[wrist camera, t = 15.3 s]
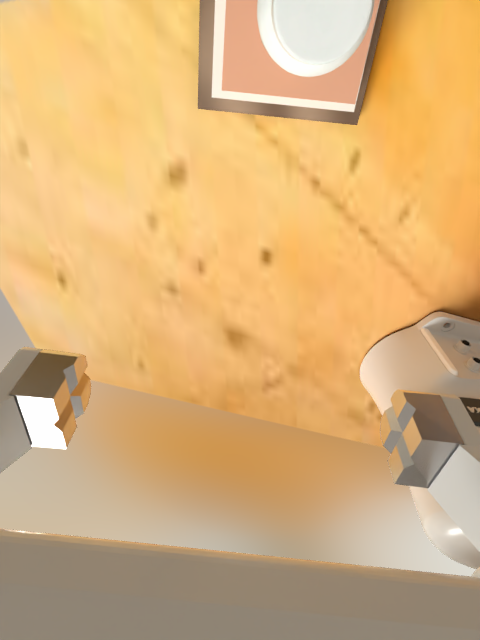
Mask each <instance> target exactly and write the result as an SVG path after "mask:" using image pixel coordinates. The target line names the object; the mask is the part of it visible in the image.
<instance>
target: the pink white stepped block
mask: <svg viewBox="0 0 480 640" xmlns="http://www.w3.org/2000/svg"><path fill="white" fill-rule="evenodd" d="M257 2H258V0H215V17H214V45H213V72H212V97H213V98H222V99H232V100H241V101H251V102H261V103H270V104H280V105H290V106H299V107H309V108H318V109H328V110H338V111H347V112H354V109H355V105H356V101H357V97H358V93H359V88H360V84H361V80H362V76H363V72H364V67H365V63H366V59H367V55H368V50H369V46H370V42H371V38H372V34H373V29H374V25H375V21H376V17H377V13H378V8H379V4H380V0H375V1H374V9H373V14H372V18H371V21H370V24H369V27H368V30H367V32H366V34H365V36H364V38H363V40H362V42H361V44H360V45H359V47H358V48H357V49H356V51H355V52H354V53H353V55H352V56H351V57H350V58H349V59H348V60H347V61H346V62H345V63H343V64H342V65H341V66H339V67H338V68H336V69H335V70H333V71H331V72H329V73H326V74H323V75H320V76H314V77H303V76H298V75H294V74H291V73H289V72H287V71H286V70H284V69H283V68H281V67H280V66H279V65H278V64H277V63H276V62H275V61H274V60H273V59H272V58H271V56H270V55H269V54H268V52H267V50H266V49H265V47H264V45H263V43H262V40H261V37H260V33H259V28H258V21H257Z"/></svg>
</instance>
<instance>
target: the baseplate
mask: <svg viewBox="0 0 480 640" xmlns="http://www.w3.org/2000/svg"><path fill="white" fill-rule="evenodd" d="M387 1H388V0H380V4H379V8H378V13H377V17H376V21H375V25H374V29H373V34H372V38H371V42H370V46H369V50H368V55H367V59H366V63H365V67H364V72H363V76H362V80H361V84H360V88H359V93H358V97H357V101H356V105H355V109H354V112H347V111H338V110H328V109H318V108H309V107H299V106H290V105H280V104H270V103H261V102H251V101H241V100H232V99H222V98H213V97H212V72H213V45H214V17H215V0H200V21H199V78H198V109H206V110H216V111H225V112H235V113H245V114H254V115H264V116H274V117H283V118H293V119H303V120H313V121H322V122H332V123H342V124H351V125H357V123H358V119H359V115H360V111H361V107H362V103H363V99H364V95H365V91H366V87H367V83H368V78H369V74H370V70H371V66H372V62H373V58H374V54H375V50H376V46H377V42H378V38H379V34H380V30H381V26H382V22H383V18H384V14H385V9H386V5H387Z"/></svg>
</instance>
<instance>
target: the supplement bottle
mask: <svg viewBox="0 0 480 640" xmlns="http://www.w3.org/2000/svg"><path fill="white" fill-rule="evenodd" d="M374 1H375V0H258V2H257V21H258V28H259V33H260V37H261V40H262V43H263V45H264V47H265V49H266V50H267V52H268V54H269V55H270V56H271V58H272V59H273V60H274V61H275V62H276V63H277V64H278V65H279V66H280V67H281V68H283V69H284V70H286V71H287V72H289V73H291V74H294V75H298V76H303V77H314V76H320V75H323V74H326V73H329V72H331V71H333V70H335V69H336V68H338V67H339V66H341V65H342V64H343V63H345V62H346V61H347V60H348V59H349V58H350V57H351V56H352V55H353V53H354V52H355V51H356V49H357V48H358V47H359V45H360V44H361V42H362V40H363V38H364V36H365V34H366V32H367V30H368V27H369V24H370V21H371V18H372V14H373V9H374Z"/></svg>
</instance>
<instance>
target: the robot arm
mask: <svg viewBox="0 0 480 640" xmlns="http://www.w3.org/2000/svg"><path fill="white" fill-rule="evenodd" d="M445 323H447V324H445ZM444 324H445V325H444ZM87 366H88V365H87V361H86V356H84V355H82V354H76V353H69V352H62V351H54V350H47V349H44V350H43V349H36V348H29V347H24V348H22V349H20V350H19V351H18V352H17V353H16V354H15V355H14V357H13V358H12V359H11V360H10V362H9V363H8V364H7V365H6V367H5V368H4V369H3V370H2V372H1V373H0V473H1V472H2V471H4V470H5V469H6V468H8V467H9V466H10V465H11V464H12V463H14V462H15V461H16V460H17V459H19V458H20V457H21V456H23V455H24V454H25V453H26V452H28V451H29V450H30V449H31V448H32V447H31V446H36V447H49V448H63V449H66V448H67V447H68V444H69V442H70V440H71V438H72V436H73V434H74V432H75V430H76V428H77V424H76V420H75V419H76V418H77V417H79V416H80V415H82V414H83V413H84V412H85V410H86V407H87V405H88V402H89V398H90V394H91V383H90V378H89V377H88V376H87V375H86V374H85V373H84V372H85V370H86V368H87ZM360 379H361V382H362V384H363V386H364V387H365V389H366V390H367V391H368V392H369V394H370V395H371V397H372V398H373V400H374V401H375V403H376V405H377V406H378V408H379V410H380V412H381V414H382V418H381V425H380V434H381V440H382V443H383V446H384V447H385V448H386V449H387V450H388V451H389V452H390V453H391V455H390V457H389V459H388V464H389V467H390V470H391V474H392V477H393V480H394V483H395V484H399V485H406V486H409V488H410V491H411V494H412V497H413V500H414V503H415V506H416V509H417V512H418V515H419V518H420V521H421V524H422V527H423V530H424V532H425V534H426V535H427V537H428V539H429V540H430V541H431V543H432V544H433V545H434V546H435V547H436V548H437V549H438V550H439V551H440V552H441V553H443V554H444V555H446V556H447V557H449V558H450V559H452V560H454V561H456V562H458V563H461V564H463V565H466V566H468V567H471V568H474V569H477V570H475V571H474V573H473V575H472V576H471V577H469V576H459V575H450V574H440V573H431V572H420V571H411V570H401V569H391V568H382V567H372V566H362V565H352V564H343V563H333V562H323V561H313V560H303V559H293V558H284V557H275V556H265V555H254V554H246V553H236V552H226V551H216V550H206V549H196V548H186V547H177V546H167V545H157V544H148V543H138V542H127V541H118V540H108V539H98V538H88V537H78V536H68V535H58V534H49V533H39V532H29V531H20V530H9V529H0V640H480V322H478V321H474V320H471V319H467V318H463V317H460V316H456V315H452V314H449V313H445V312H434V313H432V314H430V315H428V316H427V317H425V318H424V319H423V320H421V321H420V322H418V323H417V324H416V325H414V326H412V327H409V328H407V329H404V330H401V331H398V332H396V333H394V334H391V335H389V336H388V337H386V338H384V339H383V340H381V341H380V342H378V343H377V344H376V345H375V346H374V347H373V348H372V349H371V350H370V351H369V352H368V353H367V355H366V356H365V358H364V359H363V361H362V364H361V367H360Z"/></svg>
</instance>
